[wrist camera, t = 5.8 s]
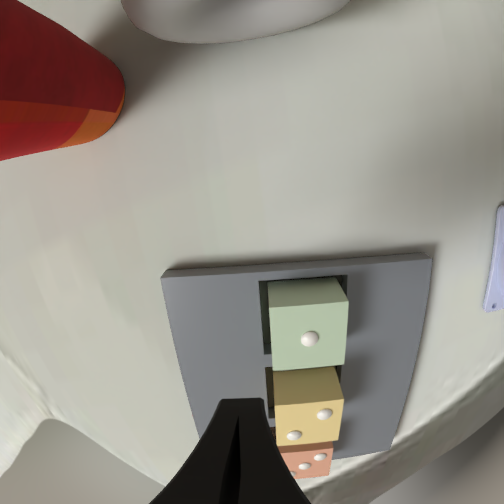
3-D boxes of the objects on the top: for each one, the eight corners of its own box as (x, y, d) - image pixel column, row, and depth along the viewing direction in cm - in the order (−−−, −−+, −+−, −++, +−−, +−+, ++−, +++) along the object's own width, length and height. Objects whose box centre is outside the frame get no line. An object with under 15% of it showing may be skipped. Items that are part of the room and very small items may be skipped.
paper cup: (69, 30, 14) (-96, -32, 1) (165, 60, 15) (-3, -64, 2) (23, 139, 17) (-155, 169, 3) (108, 182, 18) (-97, 262, 4)
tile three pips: (327, 417, 22) (333, 449, 19) (323, 446, 24) (328, 476, 20) (275, 422, 23) (277, 454, 19) (277, 451, 24) (278, 481, 21)
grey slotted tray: (423, 252, 18) (432, 258, 17) (386, 440, 24) (389, 449, 23) (165, 270, 19) (160, 277, 18) (209, 455, 25) (208, 465, 24)
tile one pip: (335, 276, 19) (349, 302, 16) (333, 334, 20) (344, 365, 17) (267, 282, 19) (269, 308, 16) (271, 339, 20) (272, 371, 17)
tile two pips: (334, 366, 20) (344, 400, 17) (330, 407, 21) (338, 441, 18) (273, 371, 20) (274, 406, 17) (275, 412, 21) (276, 447, 18)
